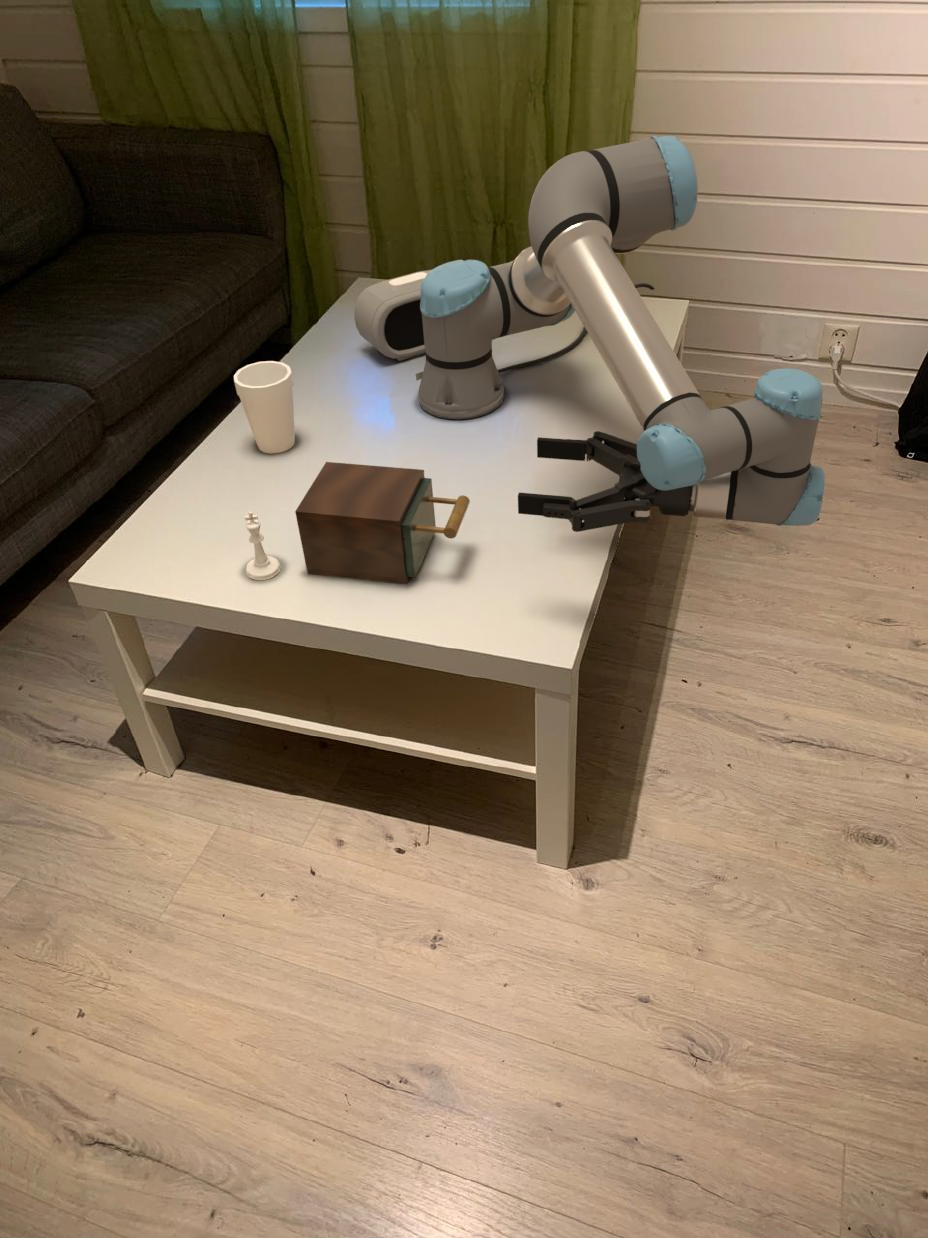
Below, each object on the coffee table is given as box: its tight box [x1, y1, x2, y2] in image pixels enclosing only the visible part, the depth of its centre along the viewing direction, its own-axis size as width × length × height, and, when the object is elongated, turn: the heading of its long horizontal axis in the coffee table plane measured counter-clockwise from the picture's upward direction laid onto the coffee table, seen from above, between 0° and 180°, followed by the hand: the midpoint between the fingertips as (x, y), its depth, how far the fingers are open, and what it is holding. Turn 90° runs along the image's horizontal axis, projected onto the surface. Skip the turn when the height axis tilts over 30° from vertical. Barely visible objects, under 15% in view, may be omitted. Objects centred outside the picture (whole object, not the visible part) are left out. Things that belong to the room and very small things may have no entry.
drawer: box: [401, 477, 471, 578], centre depth 142 cm, size 20×12×9 cm, turn 77°
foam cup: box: [233, 360, 296, 455], centre depth 168 cm, size 10×9×13 cm
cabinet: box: [294, 461, 426, 585], centre depth 143 cm, size 15×13×11 cm
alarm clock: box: [353, 269, 433, 362], centre depth 193 cm, size 21×10×13 cm, turn 120°
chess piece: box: [244, 511, 281, 581], centre depth 142 cm, size 5×5×10 cm
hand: (528, 474), depth 132 cm, fingers open, 13 cm apart
